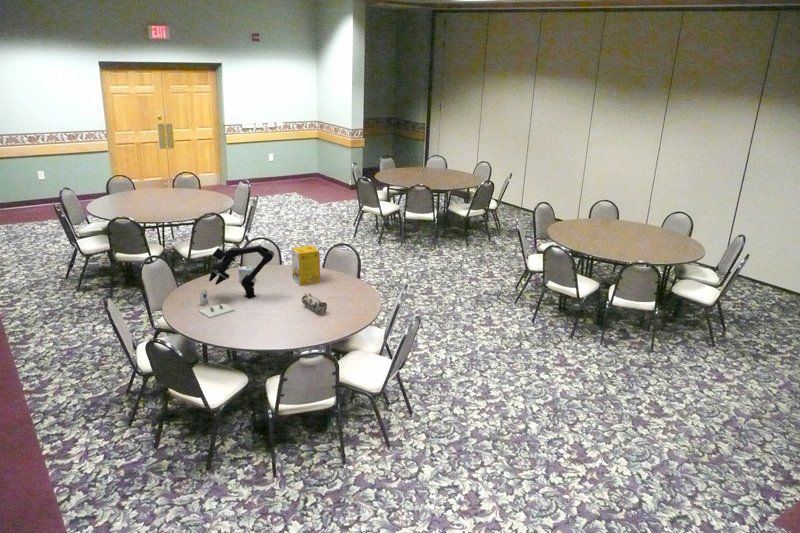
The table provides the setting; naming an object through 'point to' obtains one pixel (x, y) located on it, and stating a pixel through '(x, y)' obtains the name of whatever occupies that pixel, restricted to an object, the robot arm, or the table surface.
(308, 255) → the packaging box
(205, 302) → the block
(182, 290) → the table surface
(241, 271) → the light bulb box
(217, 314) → the pin tray
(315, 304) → the pencil case
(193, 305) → the table surface
